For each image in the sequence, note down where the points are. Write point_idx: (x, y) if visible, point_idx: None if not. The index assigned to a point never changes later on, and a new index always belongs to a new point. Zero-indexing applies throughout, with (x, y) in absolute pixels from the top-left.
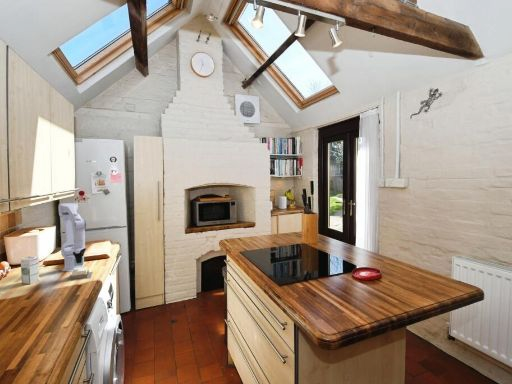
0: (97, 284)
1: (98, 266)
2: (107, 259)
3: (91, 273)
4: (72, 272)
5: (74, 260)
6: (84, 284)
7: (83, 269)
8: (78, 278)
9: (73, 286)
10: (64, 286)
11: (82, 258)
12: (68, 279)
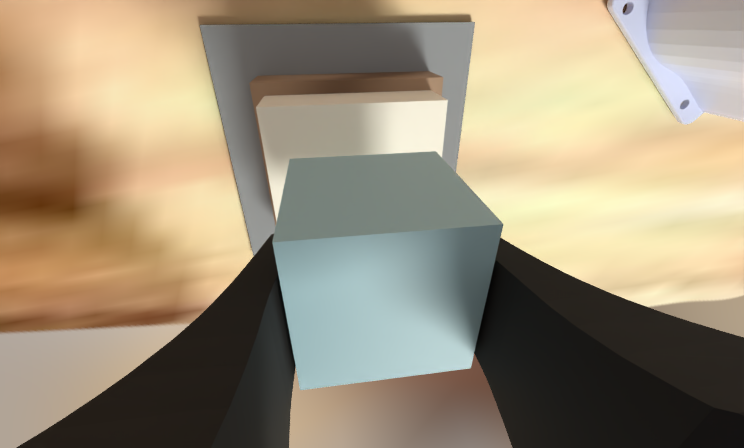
0: (88, 326)
1: (592, 249)
2: (737, 278)
3: None
4: (257, 110)
5: (279, 225)
6: (94, 235)
7: None
8: None
9: (31, 145)
10: (29, 35)
11: (301, 376)
12: (280, 37)
